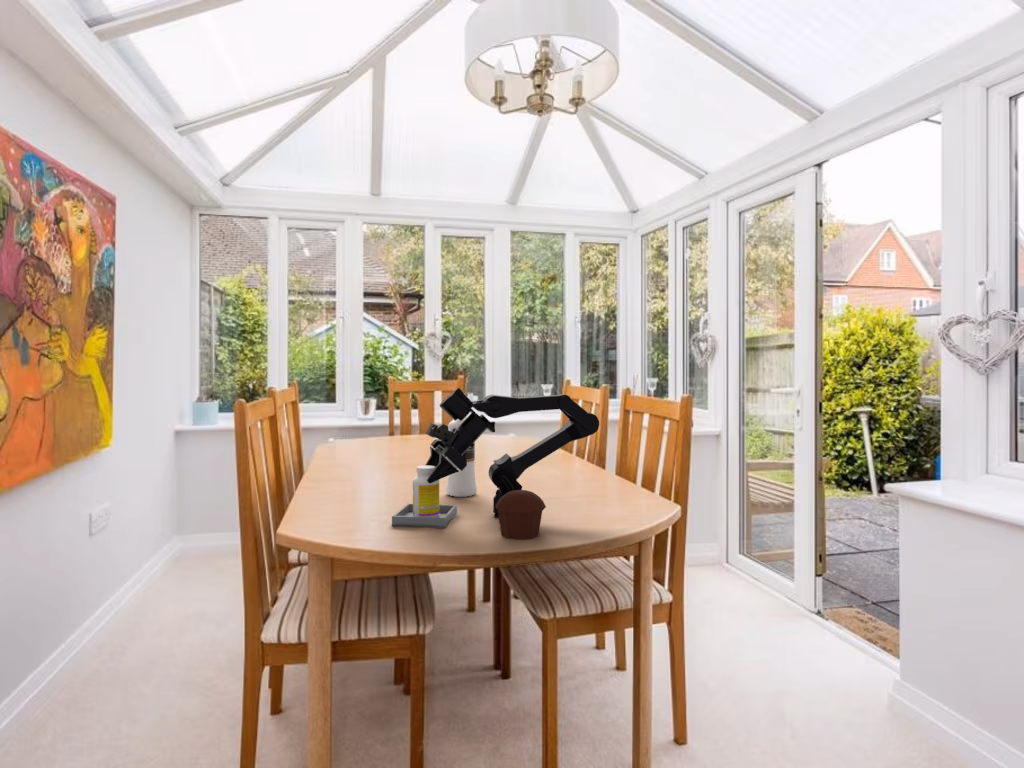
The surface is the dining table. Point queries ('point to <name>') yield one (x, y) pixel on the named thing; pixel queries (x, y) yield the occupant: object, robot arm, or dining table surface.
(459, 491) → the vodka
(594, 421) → the robot arm
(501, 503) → the muffin
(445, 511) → the tray
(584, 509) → the dining table surface
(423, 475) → the supplement bottle
